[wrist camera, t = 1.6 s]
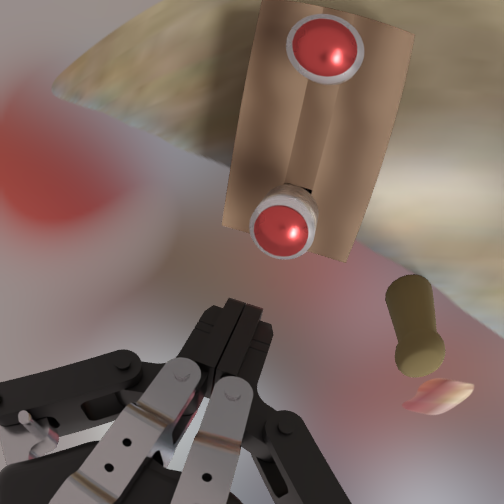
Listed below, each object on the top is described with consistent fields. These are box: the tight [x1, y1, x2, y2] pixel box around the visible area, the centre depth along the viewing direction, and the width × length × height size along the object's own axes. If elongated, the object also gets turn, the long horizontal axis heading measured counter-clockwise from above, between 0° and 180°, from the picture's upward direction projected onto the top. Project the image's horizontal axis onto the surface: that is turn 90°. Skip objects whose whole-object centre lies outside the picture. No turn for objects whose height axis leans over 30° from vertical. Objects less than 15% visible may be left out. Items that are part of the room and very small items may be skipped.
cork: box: [385, 274, 445, 377], centre depth 27 cm, size 6×6×11 cm
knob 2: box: [286, 14, 364, 85], centre depth 16 cm, size 4×4×7 cm
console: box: [222, 0, 415, 263], centre depth 24 cm, size 12×21×5 cm, turn 170°
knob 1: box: [249, 184, 319, 259], centre depth 22 cm, size 4×4×7 cm
